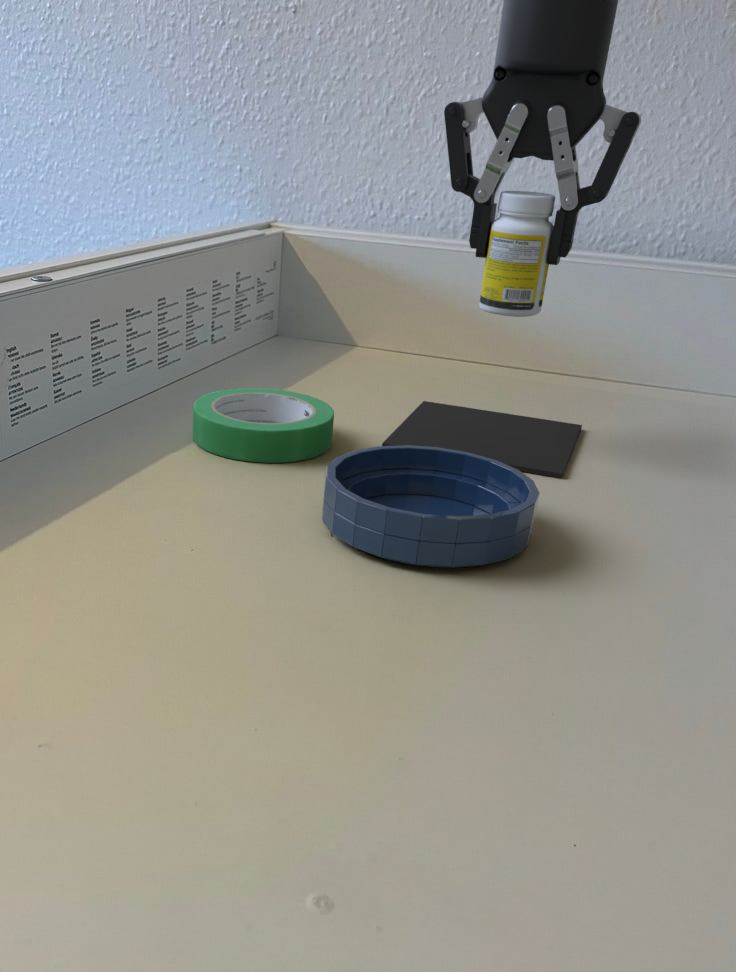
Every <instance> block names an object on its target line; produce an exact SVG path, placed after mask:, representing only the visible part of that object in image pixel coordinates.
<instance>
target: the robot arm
mask: <svg viewBox="0 0 736 972" xmlns="http://www.w3.org/2000/svg"><path fill="white" fill-rule="evenodd" d="M618 5H619V0H503V4H502V11H501V18H500V24H499V32H498V38H497V45H496V53H495V58H494V59H495V60H494V66H493V73H492V78H491V80H490V83H489V85H488V86H487V88H486V90H485V92H484V93H483V95H482V97H479V98H475V99H470V100H467V101H462V102H461V101H452V102H448V103H447V105H446V106H445V108H444V111H443V115H444V124H445V135H446V144H447V145H446V146H447V155H448V165H449V174H450V184H451V189H452V190H453V191H454V192H456V193H462V194H463V195H465V196H467V197H469V198H470V199H471V200H472V201H473V202H472V203H473V212H472V217H471V225H470V233H469V239H468V243H469V246H470V249H474V250H475V258H481V259H486V255H487V248H488V241H489V233H490V228H491V224H492V223H493V221H494V220H496V214H497V208H498V203H497V202H495V198H496V194H497V192H498V190H499V189H500V186H501V184H502V182H503V180H504V178H505V176H506V174H507V172H508V171H509V170H510V167H511V165H512V164H513V161H514V159H524V158H528V157H535V158H537V159H540V160H542V161H552V162H553V165H554V172H555V177H556V180H557V181H556V182H557V186H558V193H559V194H558V195H559V201H560V208H558V209H557V210H556V211H555V218H554V223H553V226H554V228H553V233H552V239H551V245H550V250H549V256H548V262H547V264H549V266H550V265H551V266H558V265H559V264H560V262H561V259H562V258H567V256H568V255H569V254H570V252H571V251H572V247H573V243H574V237H575V232H576V227H577V223H578V217H579V213H580V211H581V210H582V208H584V207H587V206H591V205H594V204H598V203H601V202H602V201H603V200H605V199H606V198H607V197H608V195H609V193H610V191H611V188H612V186H613V184H614V182H615V180H616V178H617V175H618V173H619V171H620V169H621V167H622V164H623V163H624V160H625V158H626V156H627V154H628V151H629V150H630V147H631V146H632V143H633V141H634V139H635V137H636V134H637V132H638V130H639V129H640V125H641V124H642V123H641V122H642V117H641V115H640V114H639V112H636V111H626V110H622V109H620V108H617V107H616V106H615V107H614V106H612V105H609V104H607V99H606V95H605V92H604V77H605V72H606V67H607V62H608V57H609V51H610V47H611V41H612V36H613V32H614V31H613V30H614V25H615V20H616V15H617V10H618ZM482 114H484V115H485V117H486V120H487V122H488V124H489V126H490V128H491V131H492V132H493V135H494V137H495V138H496V143H495V145H494V147H493V148H492V151H491V153H490V156H489V158H488V159H487V162H486V164H485V168H484V170H483V172H482V175H481V177H480V178H479V177H477V176H475V175H474V166H473V156H472V144H471V133H473V132H475V131H476V129H477V128H478V125H479V124H478V122H479V118H480V116H481V115H482ZM599 120H601V121H602V122H603V124H604V130H603V139H604V141H605V142H607V143H608V144H609V145H608V148H607V150H606V152H605V154H604V157H603V159H602V161H601V163H600V166H599V167H598V170H597V172H596V174H595V177H594V179H593V181H592V183H591V185H587V186H583V187H581V182H580V175H579V163H578V162H579V161H578V154H577V147H576V146H577V145H578V144H579V143H580V142H581V141H582V139H584V138H585V136H586V135H587V134H588V133H589V131H590V130H592V128H593V127H594V126H595V125H596V124H597V123H598V122H599Z"/></svg>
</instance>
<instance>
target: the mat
mask: <svg viewBox="0 0 736 972" xmlns="http://www.w3.org/2000/svg"><path fill="white" fill-rule="evenodd" d="M582 427H583V425H582V424H577V423H572V422H566V421H559V420H551V419H545V418H538V417H532V416H525V415H519V414H511V413H505V412H500V411H494V410H485V409H479V408H473V407H466V406H460V405H454V404H447V403H440V402H434V401H426V400H423V401H422V402H421V403H420V404H419V405H418V406H417V407H416V408H415V409H414V410H413V411H412V412H411V413H410V414H409V415H408V417H406V418H405V420H403V421H402V423H400V425H399V426H397V427H396V429H395V430H393V432H392V433H391V434H390V435H388V437H387V438H386V439H385V440H384V441H383V442H382V444H381V446H401V445H407V446H408V445H412V446H427V447H438V448H445V449H451V450H457V451H463V452H468V453H472V454H476V455H479V456H483V457H487V458H490V459H494V460H497V461H499V462H502V463H504V464H506V465H508V466H511V467H513V468H515V469H518V470H519V471H521V472H522V473H527V474H528V473H529V474H533V475H540V476H544V477H545V476H546V477H552V478H556V479H557V478H558V479H563V477H564V474H565V472H566V469H567V466H568V464H569V462H570V460H571V457H572V455H573V451H574V448H575V446H576V444H577V441H578V439H579V436H580V433H581V431H582Z"/></svg>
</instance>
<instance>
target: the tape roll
mask: <svg viewBox="0 0 736 972" xmlns="http://www.w3.org/2000/svg"><path fill="white" fill-rule="evenodd" d="M192 407H193V408H192V439H193V442H194V443H195V444H196V445H197V446H198V447H199V448H201V449H203V450H204V451H206V452H208V453H211V454H213V455H216V456H219V457H223V458H227V459H230V460H236V461H242V462H251V463H262V464H263V463H266V464H267V463H268V464H281V463H282V464H283V463H294V462H295V463H296V462H300V461H305V460H306V461H307V460H310V459H314V458H316V457H319V456H322V455H324V454H325V453H326V452H328V451H329V450H330V448H331V447H332V442H333V441H332V440H333V432H334V421H335V411H334V408H333V407H332V406H331V405H330V404H329V403H328V402H325V401H323V400H321V399H319V398H317V397H314V396H311V395H309V394H306V393H305V394H304V393H300V392H296V391H290V390H285V389H284V390H283V389H277V388H265V387H238V388H227V389H221V390H217V391H213V392H209V393H206V394H203V395H202V396H200V397H198V398H197V399H196V400H195V401H194V403H193V406H192Z"/></svg>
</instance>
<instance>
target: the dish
mask: <svg viewBox="0 0 736 972" xmlns="http://www.w3.org/2000/svg"><path fill="white" fill-rule="evenodd" d="M324 478H325V479H324V490H323V501H322V516H321V517H322V519H321V520H322V523H323V524H324V526H325V527H326V528H327V529H328V531H329V532H330V533H331V535H333V536H334V537H335V538H337V539H339V540H340V541H343V543H346V544H347V545H349V546H351V547H352V548H355V549H358V550H360V551H363V552H364V553H367V554H370V555H373V556H374V557H377V558H381V559H384V560H388V561H392V562H396V563H400V564H405V565H412V566H416V567H417V566H418V567H424V568H425V567H427V568H439V569H440V568H442V569H443V568H445V569H452V568H453V569H455V568H468V567H469V568H470V567H477V566H484V565H485V566H486V565H489V564H490V565H491V564H493V563H498V562H502V561H507V560H510V559H512V558H513V557H515V556H516V555H518V554H520V553H521V552H523V551H524V550H526V549H527V547H528V545H529V542H530V540H531V537H532V533H533V528H534V524H535V523H534V522H535V519H536V514H537V509H538V503H539V499H540V491H539V489H538V487H537V484H536V483H535V481H534V480H533V479H532V478H530V477H529V476H528V475H526V474H525V473H524V472H521V471H519V470H518V469H515V468H513V467H511V466H508V465H506V464H504V463H502V462H499V461H497V460H494V459H490V458H487V457H483V456H479V455H476V454H472V453H468V452H463V451H457V450H451V449H445V448H438V447H427V446H412V445H408V446H407V445H401V446H382V445H381V446H380V445H377V446H372V447H364V448H358V449H354V450H351V451H348V452H346V453H344V454H341V455H338V456H336V457H335V458H334V459H333V460H332V461H330V462H329V464H327V466H326V468H325V477H324Z"/></svg>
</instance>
